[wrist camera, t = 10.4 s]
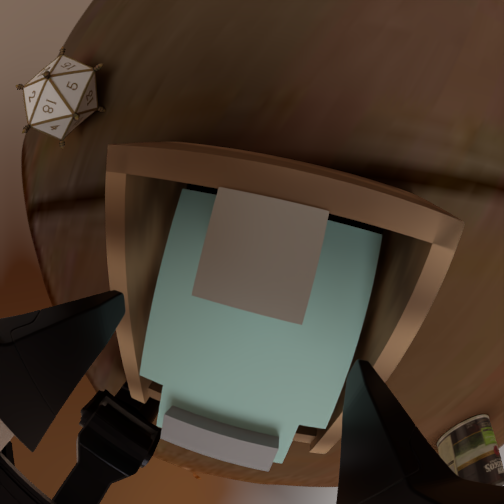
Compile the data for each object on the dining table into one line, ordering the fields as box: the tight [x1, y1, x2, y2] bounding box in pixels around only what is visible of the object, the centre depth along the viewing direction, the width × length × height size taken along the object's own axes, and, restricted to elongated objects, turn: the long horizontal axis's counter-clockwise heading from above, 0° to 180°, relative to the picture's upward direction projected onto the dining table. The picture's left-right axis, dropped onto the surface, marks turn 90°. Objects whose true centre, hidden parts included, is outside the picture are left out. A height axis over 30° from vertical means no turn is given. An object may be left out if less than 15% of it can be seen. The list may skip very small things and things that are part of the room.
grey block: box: [192, 187, 329, 325], centre depth 14 cm, size 5×5×6 cm
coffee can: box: [437, 414, 504, 486], centre depth 19 cm, size 10×10×14 cm
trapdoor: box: [140, 189, 382, 472], centre depth 16 cm, size 18×14×3 cm
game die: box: [16, 46, 105, 149], centre depth 16 cm, size 9×8×10 cm
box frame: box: [105, 141, 465, 454], centre depth 19 cm, size 22×18×8 cm
